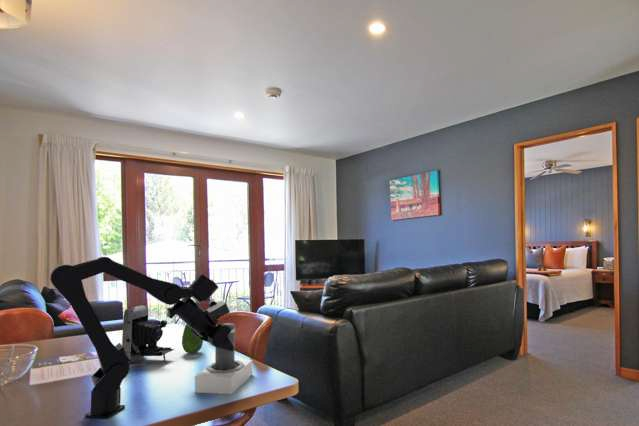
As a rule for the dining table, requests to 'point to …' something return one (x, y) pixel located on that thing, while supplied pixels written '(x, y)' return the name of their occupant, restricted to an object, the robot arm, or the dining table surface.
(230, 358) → the lens
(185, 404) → the dining table surface
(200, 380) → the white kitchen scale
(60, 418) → the dining table surface
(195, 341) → the avocado
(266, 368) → the dining table surface
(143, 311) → the vintage camera
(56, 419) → the dining table surface
